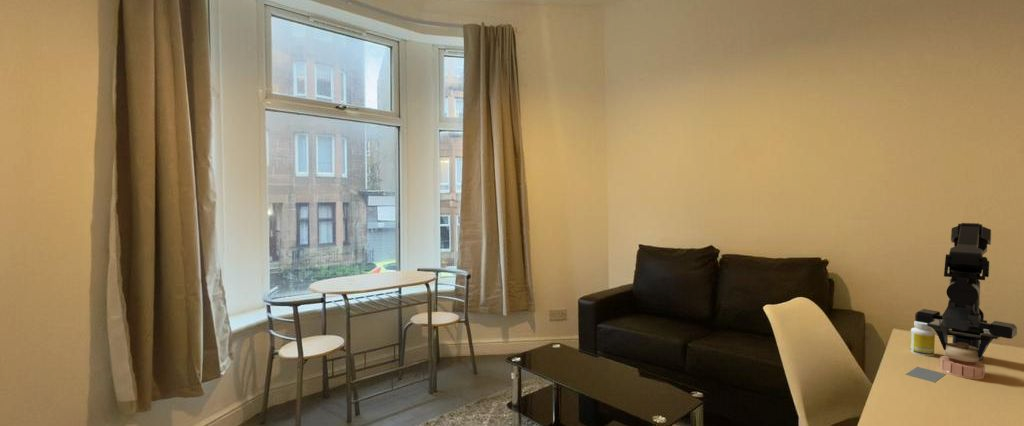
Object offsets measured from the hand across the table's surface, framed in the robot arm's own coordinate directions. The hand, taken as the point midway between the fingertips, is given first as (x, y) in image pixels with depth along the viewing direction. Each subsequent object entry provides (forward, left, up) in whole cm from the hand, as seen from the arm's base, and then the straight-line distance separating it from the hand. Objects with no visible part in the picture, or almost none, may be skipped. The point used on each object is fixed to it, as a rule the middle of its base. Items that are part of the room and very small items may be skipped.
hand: (962, 353), depth 121 cm
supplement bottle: (-10, -11, -6) cm, 16 cm away
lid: (0, 0, -1) cm, 1 cm away
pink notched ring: (0, 0, -6) cm, 6 cm away
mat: (+9, -5, -6) cm, 12 cm away
